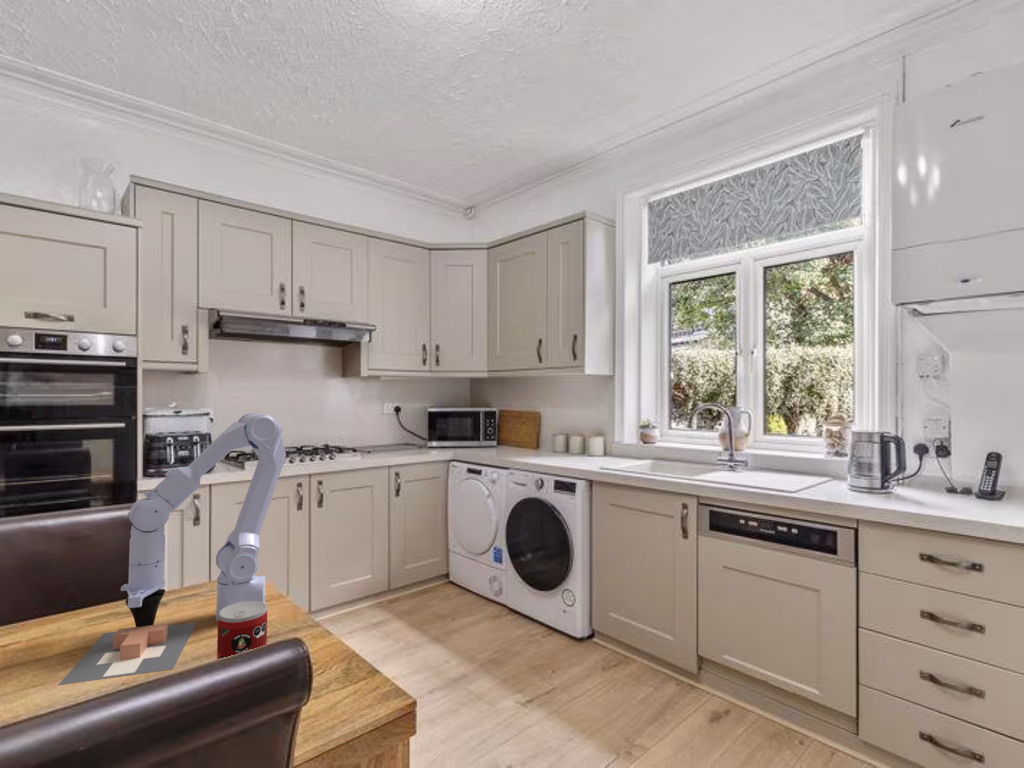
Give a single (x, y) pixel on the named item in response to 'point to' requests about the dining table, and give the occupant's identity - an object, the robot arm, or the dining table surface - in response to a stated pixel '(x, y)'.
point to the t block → (138, 639)
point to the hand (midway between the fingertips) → (144, 631)
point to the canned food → (241, 628)
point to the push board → (108, 664)
